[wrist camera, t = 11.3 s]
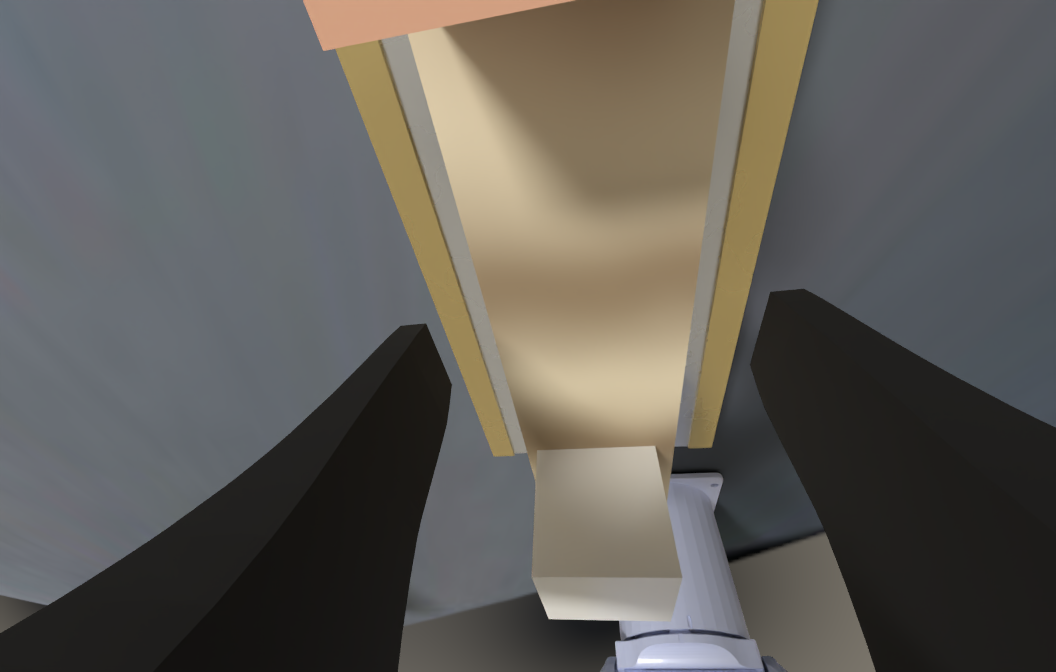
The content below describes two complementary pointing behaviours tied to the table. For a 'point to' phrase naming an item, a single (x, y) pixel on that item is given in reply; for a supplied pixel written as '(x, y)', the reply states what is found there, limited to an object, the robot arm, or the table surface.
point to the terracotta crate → (400, 16)
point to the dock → (729, 232)
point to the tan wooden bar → (584, 201)
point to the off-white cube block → (603, 536)
